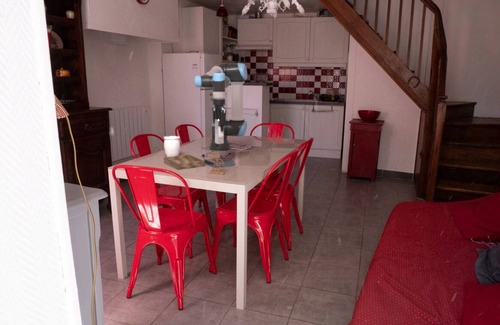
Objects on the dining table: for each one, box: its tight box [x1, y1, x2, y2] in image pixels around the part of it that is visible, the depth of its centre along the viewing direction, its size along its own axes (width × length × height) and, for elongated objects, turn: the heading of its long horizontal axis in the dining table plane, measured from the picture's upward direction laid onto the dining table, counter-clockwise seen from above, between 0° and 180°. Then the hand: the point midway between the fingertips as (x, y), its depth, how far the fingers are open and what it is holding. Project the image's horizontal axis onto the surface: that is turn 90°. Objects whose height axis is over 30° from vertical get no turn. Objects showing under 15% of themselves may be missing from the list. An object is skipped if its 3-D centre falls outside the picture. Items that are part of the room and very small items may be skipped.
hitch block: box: [203, 156, 235, 169], centre depth 243 cm, size 14×14×3 cm
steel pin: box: [215, 119, 224, 144], centre depth 238 cm, size 5×5×15 cm
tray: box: [163, 154, 206, 171], centre depth 241 cm, size 18×22×4 cm
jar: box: [163, 135, 181, 157], centre depth 257 cm, size 11×10×15 cm
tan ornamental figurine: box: [208, 152, 226, 176], centre depth 221 cm, size 9×4×12 cm, turn 76°
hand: (219, 135), depth 239 cm, fingers closed on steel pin, 4 cm apart
